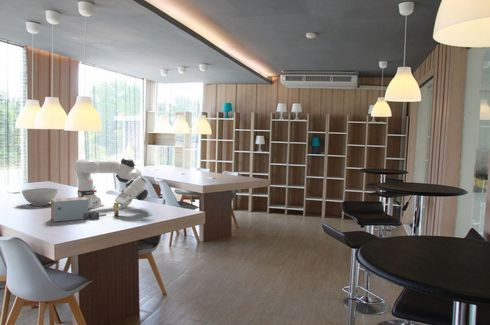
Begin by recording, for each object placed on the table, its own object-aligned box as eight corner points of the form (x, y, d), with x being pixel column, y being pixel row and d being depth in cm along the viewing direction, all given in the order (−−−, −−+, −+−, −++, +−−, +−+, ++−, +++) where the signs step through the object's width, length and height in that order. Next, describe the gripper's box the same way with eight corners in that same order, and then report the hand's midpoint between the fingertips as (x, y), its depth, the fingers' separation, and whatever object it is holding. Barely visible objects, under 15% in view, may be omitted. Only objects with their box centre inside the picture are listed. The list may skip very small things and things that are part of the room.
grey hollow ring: (97, 216, 279) (97, 210, 279) (100, 218, 273) (100, 212, 273) (82, 218, 273) (82, 212, 272) (84, 220, 267) (84, 213, 267)
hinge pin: (116, 215, 286) (116, 202, 285) (119, 216, 284) (119, 202, 284) (112, 216, 283) (113, 202, 282) (116, 216, 281) (116, 203, 281)
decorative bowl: (54, 201, 342) (54, 187, 341) (61, 205, 321) (61, 191, 320) (19, 203, 325) (19, 189, 324) (24, 208, 304) (24, 193, 303)
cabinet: (84, 216, 281) (84, 196, 280) (88, 218, 273) (88, 198, 272) (51, 219, 268) (51, 199, 267) (53, 221, 260) (53, 201, 259)
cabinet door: (87, 218, 272) (87, 198, 272) (88, 218, 270) (88, 199, 269) (53, 221, 260) (53, 201, 259) (54, 221, 258) (54, 201, 257)
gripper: (136, 199, 281) (123, 213, 276) (127, 195, 298) (114, 209, 292) (130, 193, 278) (117, 208, 273) (121, 190, 295) (108, 203, 290)
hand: (115, 208), depth 283 cm, fingers open, 8 cm apart
